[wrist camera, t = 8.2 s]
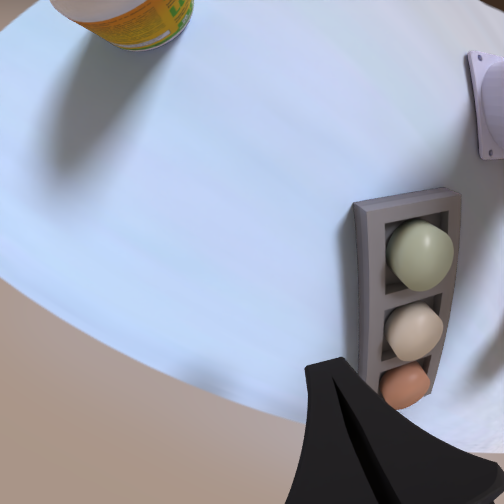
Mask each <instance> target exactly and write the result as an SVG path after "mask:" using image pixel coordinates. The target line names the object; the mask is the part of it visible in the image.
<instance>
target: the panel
mask: <svg viewBox="0 0 504 504" xmlns="http://www.w3.org/2000/svg"><path fill="white" fill-rule="evenodd" d="M353 203H354V214H355V227H356V241H357V259H358V284H359V363H358V375H359V376H360V377H361V378H362V379H363V380H364V381H365V382H366V383H367V384H368V385H369V386H370V387H371V388H372V389H373V390H374V391H375V392H376V393H377V394H378V395H379V396H380V397H381V398H382V399H383V400H384V401H385V399H384V397H383V395H382V393H381V391H380V389H379V383H380V380H381V378H382V377H383V375H384V374H385V373H386V372H387V371H388V370H390V369H393V368H396V367H399V366H401V365H404V364H407V363H410V362H413V361H417V362H418V363H419V364H420V366H421V367H422V369H423V370H424V372H425V373H426V375H427V376H428V378H429V379H430V386H429V389H428V391H427V392H426V393H425V395H424V396H426V395H428V394H431V391H432V388H433V384H434V381H435V377H436V374H437V370H438V366H439V362H440V358H441V354H442V350H443V346H444V341H445V337H446V332H447V327H448V322H449V317H450V311H451V305H452V299H453V293H454V286H455V278H456V270H457V261H458V251H459V239H460V222H461V194H459V193H457V192H454V191H452V190H450V189H447V188H445V187H442V188H435V189H429V190H423V191H417V192H411V193H405V194H399V195H393V196H387V197H381V198H376V199H370V200H364V201H359V202H353ZM412 219H423V220H425V221H427V222H429V223H431V224H432V225H434V226H435V227H437V228H439V229H440V230H442V231H443V232H445V233H446V234H447V235H448V236H449V237H450V238H451V240H452V243H453V247H454V256H453V261H452V264H451V267H450V269H449V271H448V273H447V274H446V276H445V277H444V278H443V280H442V281H441V282H440V283H439V284H437V285H436V286H435V287H433V288H431V289H429V290H426V291H420V292H419V291H413V290H411V289H409V288H408V287H407V286H406V285H405V284H404V283H403V282H402V281H401V280H400V279H399V278H398V277H397V276H396V275H395V274H394V273H393V272H392V271H391V269H390V268H389V266H388V263H387V259H386V250H387V246H388V242H389V240H390V238H391V236H392V234H393V233H394V232H395V230H396V229H397V228H398V227H399V226H400V225H402V224H403V223H405V222H406V221H409V220H412ZM418 300H422V301H424V302H425V303H427V305H428V306H429V307H430V308H431V309H432V310H433V311H434V312H435V313H436V314H437V315H438V316H439V318H440V319H441V320H442V322H443V332H442V335H441V338H440V340H439V341H438V343H437V344H436V346H435V347H434V348H433V349H432V350H431V351H430V352H429V353H427V354H426V355H424V356H423V357H421V358H419V359H417V360H413V361H403V360H400V359H399V358H398V357H397V356H396V354H395V352H394V351H393V349H392V348H391V346H390V345H389V343H388V341H387V340H386V338H385V336H384V327H385V324H386V322H387V320H388V318H389V316H390V315H391V314H392V312H393V311H394V310H395V309H397V308H398V307H399V306H401V305H405V304H408V303H411V302H414V301H418Z"/></svg>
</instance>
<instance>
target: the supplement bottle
mask: <svg viewBox="0 0 504 504" xmlns="http://www.w3.org/2000/svg"><path fill="white" fill-rule="evenodd" d="M50 2H51V4H52V5H53V6H54V8H55V9H56V10H57V11H58V12H60V13H61V14H63V15H64V16H65V17H67V18H68V19H70V20H72V21H74V22H76V23H77V24H79V25H81V26H83V27H84V28H86V29H88V30H90V31H92V32H93V33H95V34H97V35H98V36H100V37H102V38H103V39H105V40H107V41H108V42H110V43H111V44H113V45H115V46H117V47H118V48H121V49H124V50H128V51H147V50H151V49H155V48H158V47H160V46H162V45H164V44H166V43H168V42H169V41H171V40H172V39H174V38H175V37H176V36H178V35H179V34H180V33H181V32H182V31H183V29H184V28H185V27H186V25H187V24H188V22H189V20H190V18H191V16H192V13H193V9H194V0H50Z"/></svg>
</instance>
